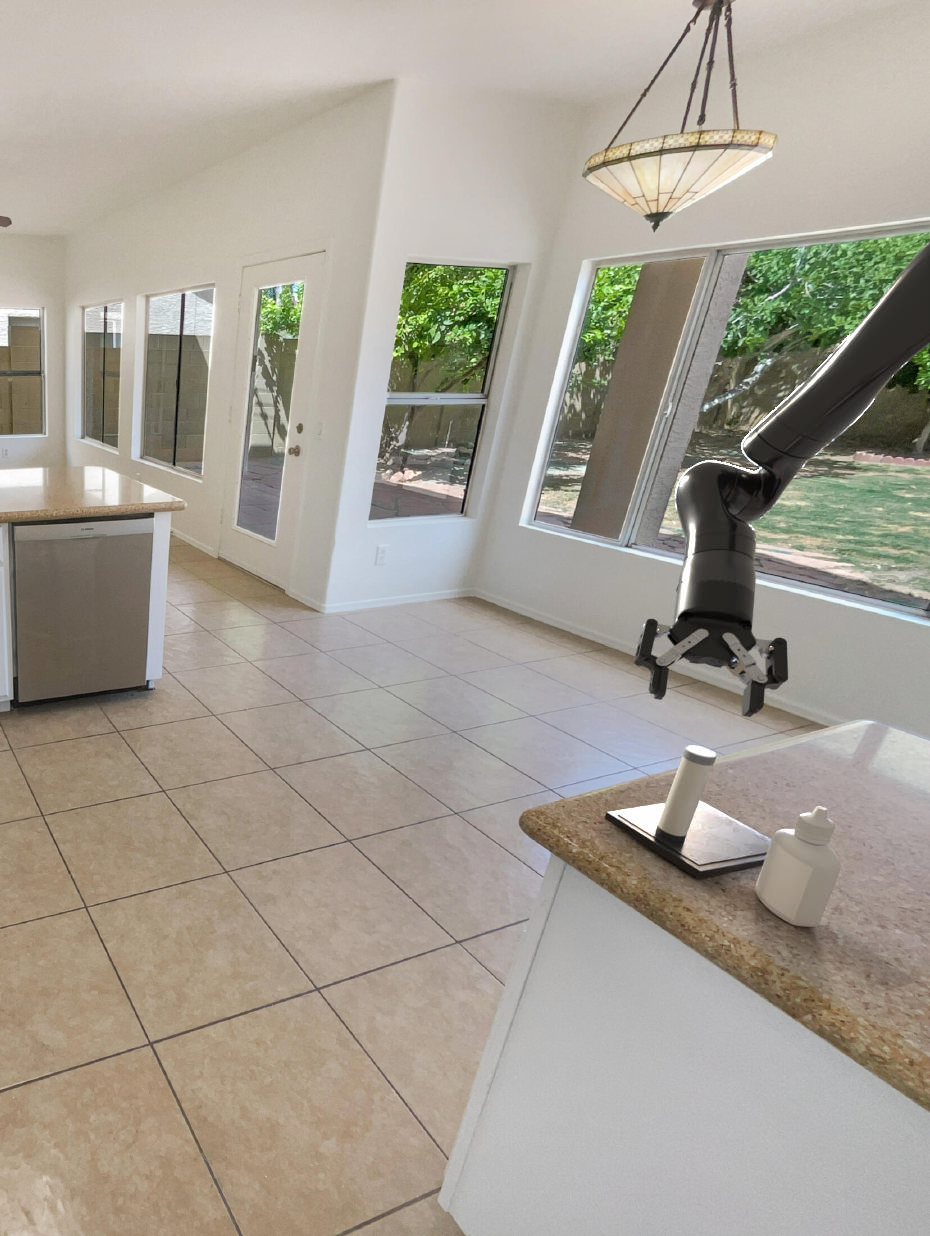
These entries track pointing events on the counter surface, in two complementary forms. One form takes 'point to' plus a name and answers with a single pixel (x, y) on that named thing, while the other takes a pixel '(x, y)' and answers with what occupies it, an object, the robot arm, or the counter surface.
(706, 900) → the counter surface
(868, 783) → the counter surface
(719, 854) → the tablet
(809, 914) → the eye dropper bottle
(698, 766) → the stylus
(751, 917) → the counter surface
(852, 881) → the counter surface
